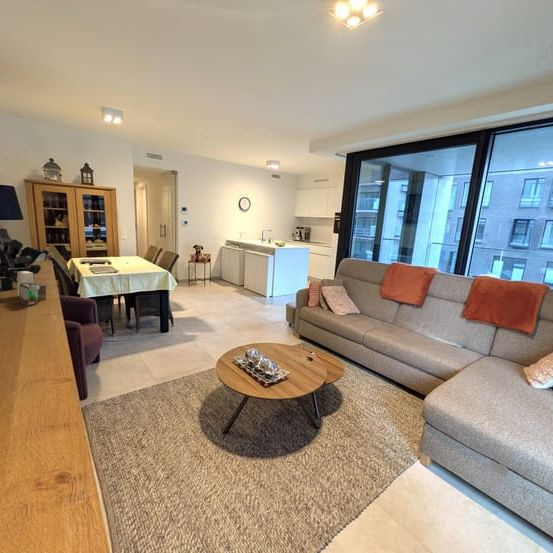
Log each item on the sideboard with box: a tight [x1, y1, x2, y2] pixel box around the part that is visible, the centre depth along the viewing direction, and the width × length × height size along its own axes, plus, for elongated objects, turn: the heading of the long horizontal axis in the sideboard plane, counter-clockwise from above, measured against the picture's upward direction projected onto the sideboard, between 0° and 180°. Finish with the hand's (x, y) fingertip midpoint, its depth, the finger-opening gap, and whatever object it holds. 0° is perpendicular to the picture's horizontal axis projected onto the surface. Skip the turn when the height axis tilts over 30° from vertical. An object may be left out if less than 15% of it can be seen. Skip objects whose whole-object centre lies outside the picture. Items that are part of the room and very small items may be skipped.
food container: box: [19, 282, 40, 307], centre depth 154 cm, size 12×6×10 cm, turn 58°
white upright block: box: [17, 271, 35, 297], centre depth 164 cm, size 8×4×14 cm, turn 62°
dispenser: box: [19, 283, 47, 302], centre depth 159 cm, size 5×10×8 cm, turn 152°
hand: (25, 282), depth 164 cm, fingers open, 7 cm apart
